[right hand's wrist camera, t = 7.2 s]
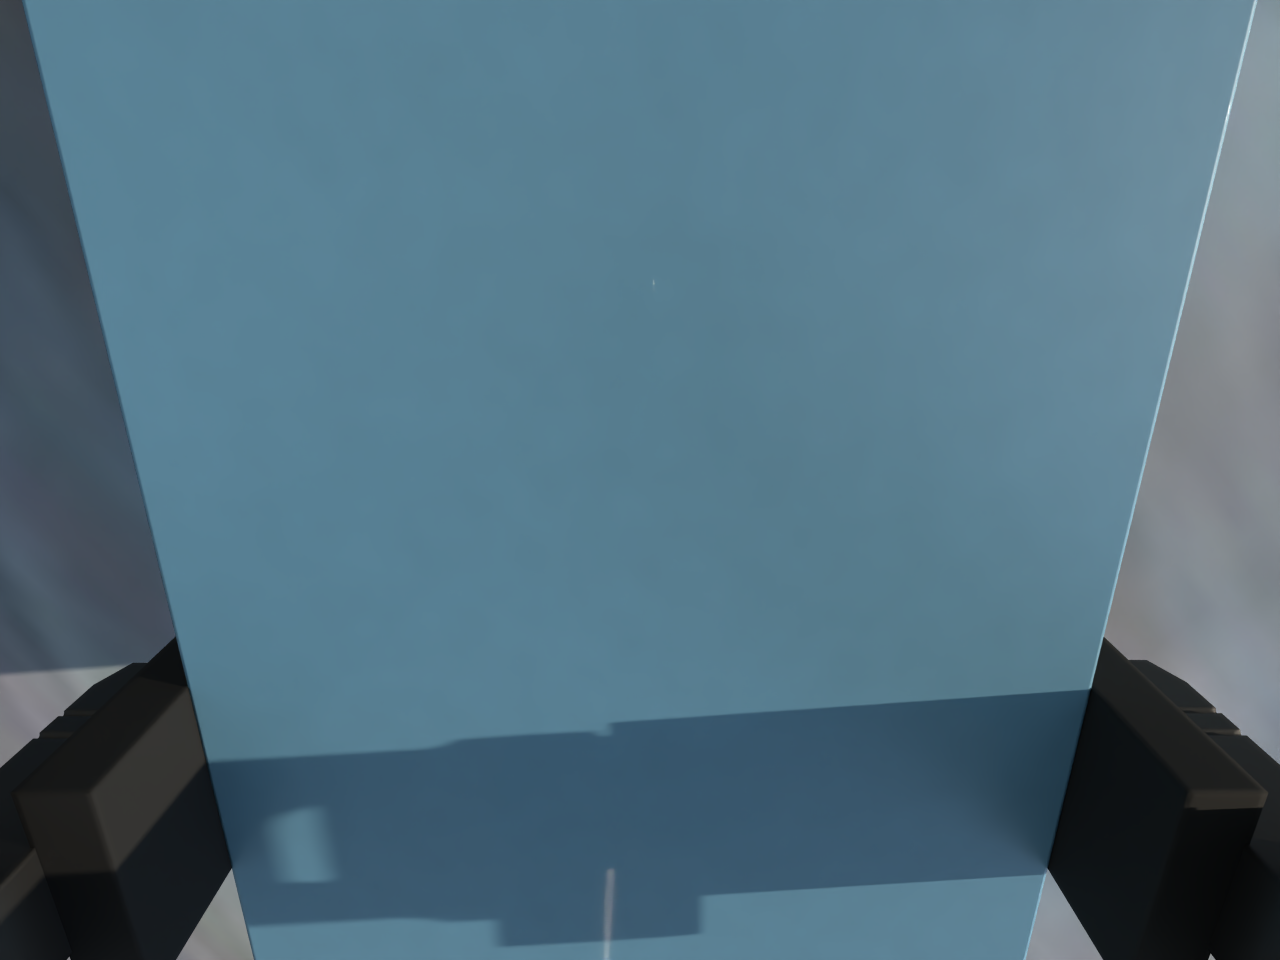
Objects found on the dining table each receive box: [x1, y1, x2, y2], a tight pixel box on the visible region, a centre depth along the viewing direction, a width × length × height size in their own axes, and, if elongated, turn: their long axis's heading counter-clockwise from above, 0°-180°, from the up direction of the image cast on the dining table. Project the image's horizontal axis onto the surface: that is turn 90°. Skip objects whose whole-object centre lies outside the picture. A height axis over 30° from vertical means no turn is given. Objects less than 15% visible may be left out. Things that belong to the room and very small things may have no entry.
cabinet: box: [22, 0, 1257, 960], centre depth 11 cm, size 21×10×10 cm, turn 0°
